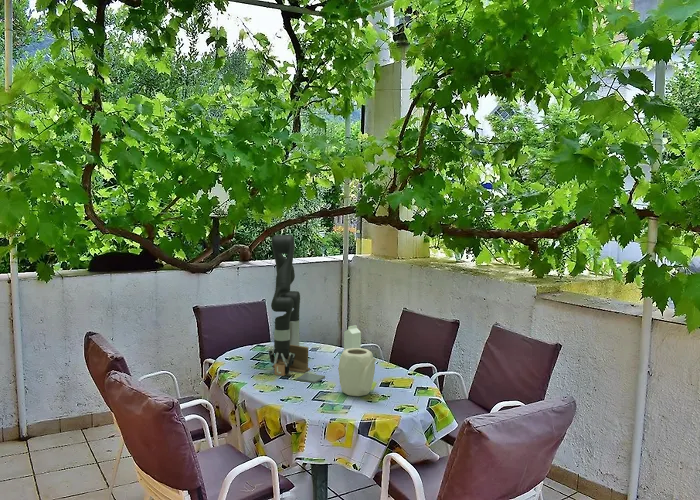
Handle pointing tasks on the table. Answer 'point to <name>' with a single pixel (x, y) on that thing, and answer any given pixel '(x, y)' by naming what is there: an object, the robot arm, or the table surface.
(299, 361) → the walnut screen
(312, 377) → the slate pad
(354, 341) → the milk
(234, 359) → the table surface
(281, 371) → the letter cube
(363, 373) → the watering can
